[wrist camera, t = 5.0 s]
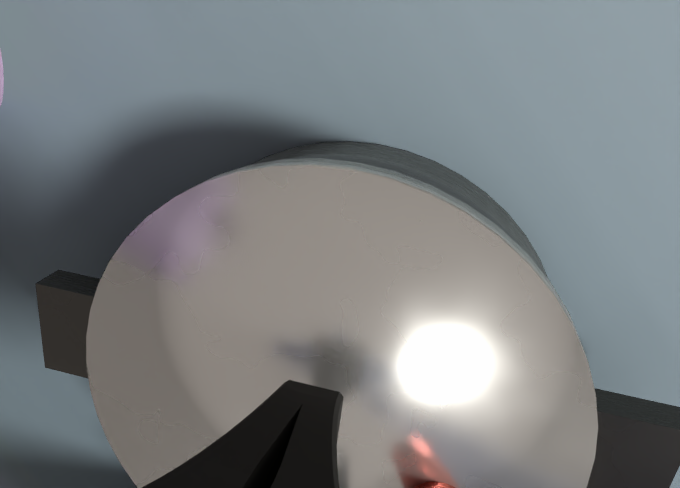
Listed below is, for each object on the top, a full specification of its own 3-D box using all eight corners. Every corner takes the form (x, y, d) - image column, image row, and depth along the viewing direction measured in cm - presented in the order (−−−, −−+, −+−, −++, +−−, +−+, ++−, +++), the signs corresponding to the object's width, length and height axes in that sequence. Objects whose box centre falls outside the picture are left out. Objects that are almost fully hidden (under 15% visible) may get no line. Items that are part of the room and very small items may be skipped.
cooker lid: (517, 634, 17) (522, 699, 15) (112, 515, 19) (79, 560, 17) (672, 215, 12) (704, 246, 10) (90, 116, 14) (38, 128, 12)
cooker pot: (573, 560, 20) (597, 690, 16) (114, 436, 23) (40, 522, 19) (718, 200, 15) (808, 265, 11) (94, 97, 17) (-15, 119, 14)
